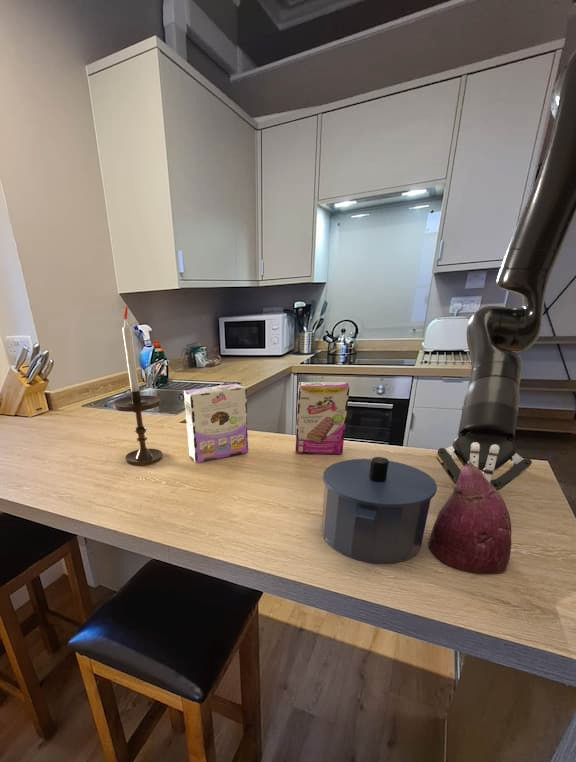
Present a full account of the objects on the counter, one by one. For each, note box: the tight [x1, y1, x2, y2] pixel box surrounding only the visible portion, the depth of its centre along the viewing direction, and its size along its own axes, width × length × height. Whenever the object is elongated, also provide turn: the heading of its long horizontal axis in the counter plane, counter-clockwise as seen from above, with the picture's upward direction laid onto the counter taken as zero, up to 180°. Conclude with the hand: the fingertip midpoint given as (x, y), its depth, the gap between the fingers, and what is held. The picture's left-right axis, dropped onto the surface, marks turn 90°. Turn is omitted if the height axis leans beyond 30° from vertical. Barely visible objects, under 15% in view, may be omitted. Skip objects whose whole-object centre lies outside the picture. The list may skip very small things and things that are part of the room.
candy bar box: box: [295, 381, 350, 455], centre depth 92 cm, size 11×5×16 cm, turn 80°
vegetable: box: [428, 461, 512, 575], centre depth 55 cm, size 10×10×15 cm
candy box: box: [183, 383, 249, 464], centre depth 93 cm, size 14×6×16 cm, turn 111°
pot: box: [320, 484, 432, 565], centre depth 60 cm, size 15×20×10 cm
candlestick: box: [112, 303, 164, 467], centre depth 90 cm, size 11×11×35 cm
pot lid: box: [322, 456, 438, 507], centre depth 58 cm, size 16×16×4 cm
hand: (472, 511), depth 60 cm, fingers closed
